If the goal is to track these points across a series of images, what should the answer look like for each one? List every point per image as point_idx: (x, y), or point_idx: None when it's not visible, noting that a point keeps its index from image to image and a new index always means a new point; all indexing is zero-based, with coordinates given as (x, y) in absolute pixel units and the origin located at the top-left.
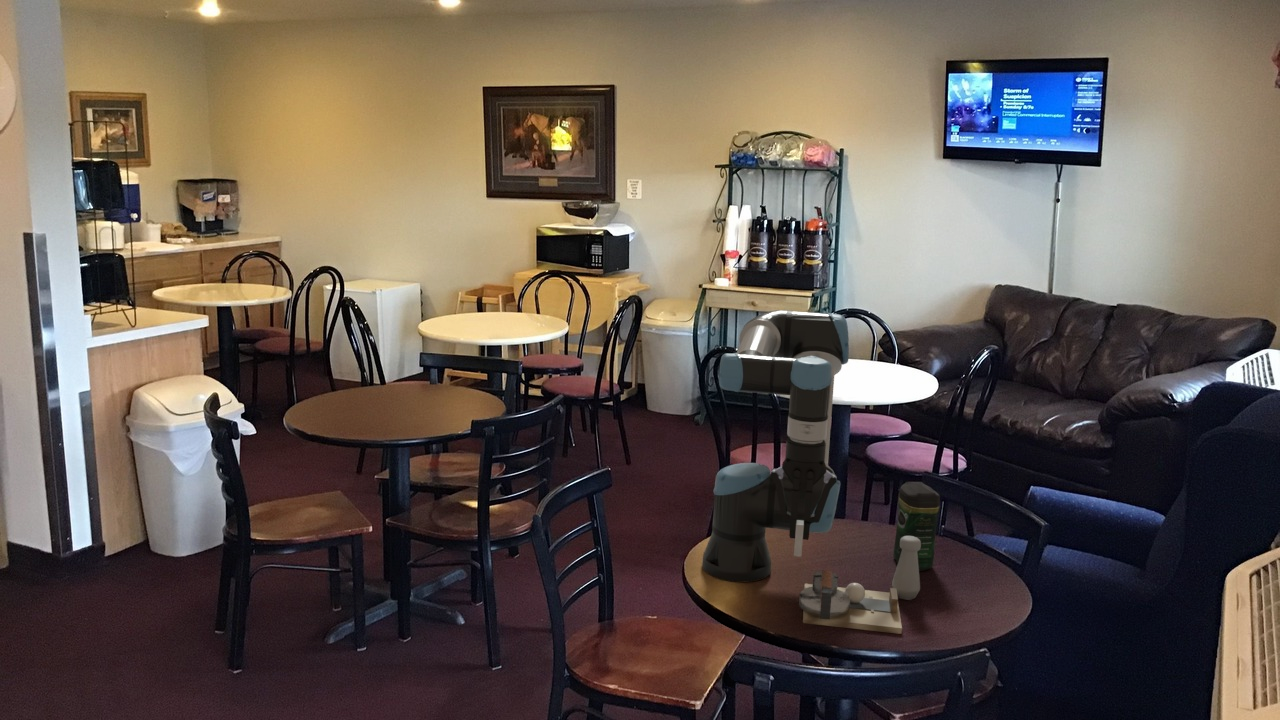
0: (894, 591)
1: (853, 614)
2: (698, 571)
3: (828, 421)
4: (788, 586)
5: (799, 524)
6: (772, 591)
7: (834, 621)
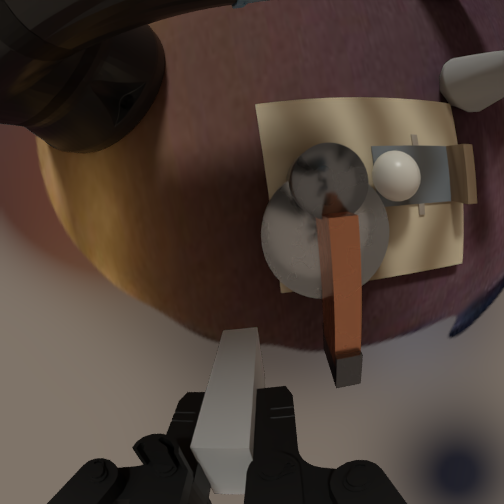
0: (470, 161)
1: None
2: None
3: None
4: (216, 109)
5: (233, 489)
6: (184, 153)
7: None
